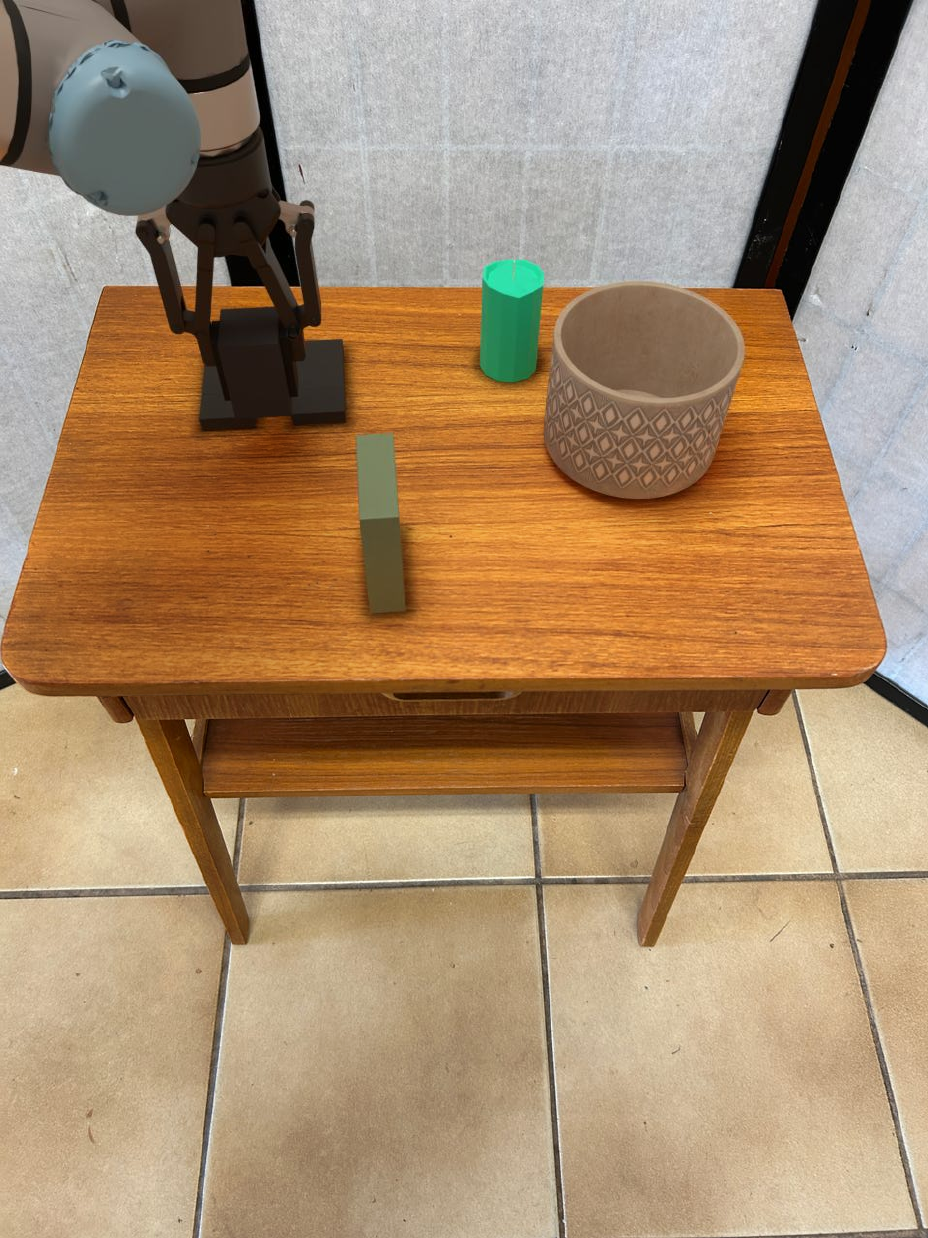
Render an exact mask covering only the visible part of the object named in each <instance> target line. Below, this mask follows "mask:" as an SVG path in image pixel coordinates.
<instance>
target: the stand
mask: <svg viewBox="0 0 928 1238" xmlns="http://www.w3.org/2000/svg"><path fill="white" fill-rule="evenodd" d="M395 449H396V448H395V436H394V433H393V432H385V433H366V434H356V435H355V451H356V475H357V499H358V501H357V502H358V503H357V504H358V522H359V530H360V538H361V539H360V540H361V545H362V546H361V547H362V557H363V563H364V564H363V565H364V573H365V581H366V589H367V597H368V598H367V599H368V606H369V607H368V608H369V613H370V614H371V615H373V614H374V615H375V614H386V613H389V614H390V613H402V612H403V613H404V612H406V609H407V607H406V595H405V592H406V591H405V579H404V565H403V562H404V561H403V550H402V547H403V546H402V534H401V533H402V532H401V520H400V519H401V518H400V504H399V491H398V478H397V477H398V476H397V464H396V463H397V462H396V451H395Z"/></svg>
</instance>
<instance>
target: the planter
mask: <svg viewBox="0 0 928 1238" xmlns="http://www.w3.org/2000/svg"><path fill="white" fill-rule="evenodd" d="M552 335H553V336H552V344H551V354H550V364H549V374H548V380H547V381H548V382H547V392H546V399H545V400H546V401H545V410H544V419H543V433H542V435H543V441H544V445H545V448H546V450H547V453H548V455H549V456H550V459H552V461H553V462H554V464H555V465H556V466H557V467H558V468H559V469H560V470H561V472H562V473H564V474H565V475H566V476H568V477H569V478H570V479H571V480H573V481H574V482H575V483H578V484H579V485H581V486H583V487H585V488H587V489H590V490H592V491H594V492H596V493H600V494H603V495H606V496H611V497H615V498H621V499H628V500H629V499H630V500H650V499H651V500H652V499H656V498H663V497H668V496H671V495H673V494H677V493H679V492H681V491H684V490H686V489H687V488H688V489H689V487H691V486H692V485H693V484H695V483H696V482H698V481H699V480H700V479H701V478H702V477H703V476H704V475H705V474H706V473H707V471H708V470H709V468H710V466H711V465H712V462H713V460H714V457H715V454H716V452H717V448H718V445H719V441H720V439H721V435H722V433H723V430H724V429H723V428H724V426H725V422H726V419H727V416H728V412H729V410H730V406H731V404H732V400H733V397H734V394H735V391H736V388H737V384H738V381H739V378H740V374H741V371H742V368H743V365H744V362H745V356H746V345H745V339H744V336H743V333H742V331H741V329H740V327H739V326H738V325H737V323H736V321H735V320H734V319H733V318H732V316H730V315H729V314H728V312H727V311H725V310H724V309H723V308H722V307H720V306H719V305H718V304H716V303H715V302H714V301H712V300H710V299H709V298H707V297H705V296H703V295H701V294H699V293H698V292H697V293H696V292H695V291H692V290H689V289H687V288H684V287H681V286H676V285H674V284H673V285H672V284H669V283H663V282H657V281H645V280H632V281H631V280H628V281H627V280H626V281H619V282H611V283H607V284H603V285H600V286H597V287H594V288H592V289H589V290H587V291H585V292H583V293H581V294H580V295H578V296H576V297H575V298H573V299H572V300H570V302H568V304H566V306H565V307H563V309H562V310H561V311H560V313H559V315H558V316H557V319H556V320H555V323H554V328H553V334H552Z"/></svg>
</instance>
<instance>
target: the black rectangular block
mask: <svg viewBox="0 0 928 1238" xmlns="http://www.w3.org/2000/svg"><path fill="white" fill-rule="evenodd" d="M219 312H220V313H219V320H220V322H219V333H218V345H217V347H218V351H219V355H220V359H221V363H222V367H223V372H224V376H225V380H226V384H227V388H228V392H229V396H230V400H231V404H232V408H233V412H234V416H235V419H246V418H256V419H260V418H261V419H262V418H278V417H291V415H292V397H290V395H289V390H288V384H287V379H286V373H285V368H284V362H283V357H282V351H281V346H280V340H279V319H280V316H279V314H278V312H277V310H276V308H275V306H274V305H273V306H259V307H257V306H256V307H239V308H221V309H220V310H219Z"/></svg>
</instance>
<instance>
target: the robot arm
mask: <svg viewBox="0 0 928 1238" xmlns="http://www.w3.org/2000/svg"><path fill="white" fill-rule="evenodd" d="M247 42H248V41H247V35H246V29H245V23H244V16H243V8H242V2H241V0H0V167H1V166H2V167H8V168H11V169H12V168H13V169H17V170H23V171H28V172H33V173H38V174H44V175H52V176H57V177H60V178H61V180H62V182H63V183H64V185H65V186H66V187H67V188H68V189H69V190H71V191H72V192H73V193H75V194H76V195H77V196H81V197H83V199H84V200H85V201H87V202H88V203H89V204H92V205H93V206H95V207H97V208H98V209H100V210H103V211H105V212H106V213H110V214H113V215H117V216H124V217H137V219H136V225H135V236H136V237H137V238H138V240H139V241H140V243H141V244H142V246H143V247H144V248H145V250H146V252H147V253H148V254H149V257H150V261H151V264H152V268H153V272H154V276H155V280H156V283H157V286H158V290H159V294H160V297H161V301H162V304H163V308H164V312H165V316H166V319H167V323H168V326H169V330H170V332H171V333H173V334H175V335H183V334H184V333H186V334H190V335H192V336H193V337H194V338H195V339H196V341H197V345H198V349H199V352H200V356H201V361H202V364H205V366H206V367H211V366H216V368H217V372H218V376H219V380H220V384H221V388H222V391H223V395H224V399H225V401H231V400H230V396H229V392H228V388H227V384H226V380H225V376H224V372H223V367H222V363H221V359H220V355H219V351H218V347H217V345H218V333H219V322H220V319H219V320H211V319H212V318H211V317H212V316H211V315H212V302H213V301H212V300H213V285H214V270H215V269H214V268H215V259H217V258H218V259H219V258H224V257H228V256H231V255H232V256H237V257H238V256H239V257H247V258H248V260H249V263H250V265H251V267H252V268H253V270H256V272H257V274H258V277H259V279H260V280H261V282H262V285H263V286H264V288H265V291H266V292H267V294H268V297H269V298H270V301H271V302H272V305H273V307H274V306H275V308H276V310H277V312H278V314H279V316H280V319H279V340H280V346H281V351H282V357H283V362H284V368H285V373H286V379H287V384H288V390H289V395H290V397H298V372H297V366H296V362H297V361H304V360H305V357H306V345H305V341H306V340H305V332H304V329H306V328H308V327H312V328H318V327H319V326H321V324H322V299H321V293H320V286H319V279H318V272H317V266H316V259H315V254H314V253H315V252H314V245H313V236H314V233H315V228H316V226H315V225H316V223H315V222H316V214H315V213H316V212H315V210H316V209H315V204H314V203H313V202H312V201H311V200H308V199H304V200H302V201H301V202H300V203H299V204H295V203H291V202H288V201H284V200H281V197H280V195H279V193H278V192H277V191H276V190H275V188H274V186H273V184H272V181H271V176H270V170H269V163H268V158H267V157H268V156H267V150H266V145H265V138H264V132H263V130H262V128H261V126H260V124H261V123H260V121H261V114H260V108H259V102H258V96H257V91H256V86H255V79H254V74H253V68H252V62H251V58H250V52H249V47H248V43H247ZM278 220H281V221H282V223H284V225H285V232H286V233H287V234H289V236H290V237H291V238H294V255H295V260H296V266H297V273H298V277H299V278H298V279H299V284H300V289H301V296H302V301H303V303H302V304H300V305H299V303H298V301H297V299H296V297H295V295H294V293H293V291H292V289H291V286H290V284H289V282H288V280H287V278H286V275H285V274H284V271H283V269H282V267H281V264H280V263H279V261H278V259H277V257H276V255H275V252H274V250H273V248H272V246H271V241H270V238H269V235H270V233H271V232H272V231H273V229H274V227H275V225H276V224H277V223H278ZM171 226H173V227H174V228H175V229H176V230H177V231H179V232H180V233H181V234H182V235H183V236H184V237H185V238H186V239H188V241H190V242H191V243H192V244H193V245H194V246H195V247H196V248H197V255H196V256H197V257H196V282H195V299H194V300H195V301H194V303H195V305H194V310H190V309H188V308H187V303H186V300H185V295H184V292H183V288H182V285H181V281H180V275H179V272H178V267H177V265H176V260H175V256H174V253H173V249H172V244H171V241H170V238H171V233H172V232H171V231H172V228H171Z"/></svg>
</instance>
